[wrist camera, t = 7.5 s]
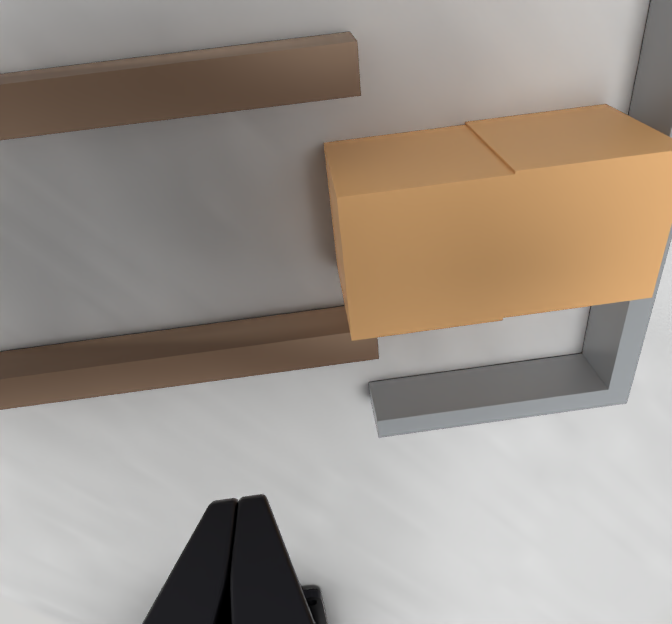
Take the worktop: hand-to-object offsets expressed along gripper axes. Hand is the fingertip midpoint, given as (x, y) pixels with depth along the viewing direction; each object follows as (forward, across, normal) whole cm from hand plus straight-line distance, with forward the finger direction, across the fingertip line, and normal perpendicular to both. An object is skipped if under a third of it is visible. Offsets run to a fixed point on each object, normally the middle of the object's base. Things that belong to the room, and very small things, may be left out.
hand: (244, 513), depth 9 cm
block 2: (+10, -8, 0) cm, 13 cm away
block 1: (+10, -4, 0) cm, 11 cm away
